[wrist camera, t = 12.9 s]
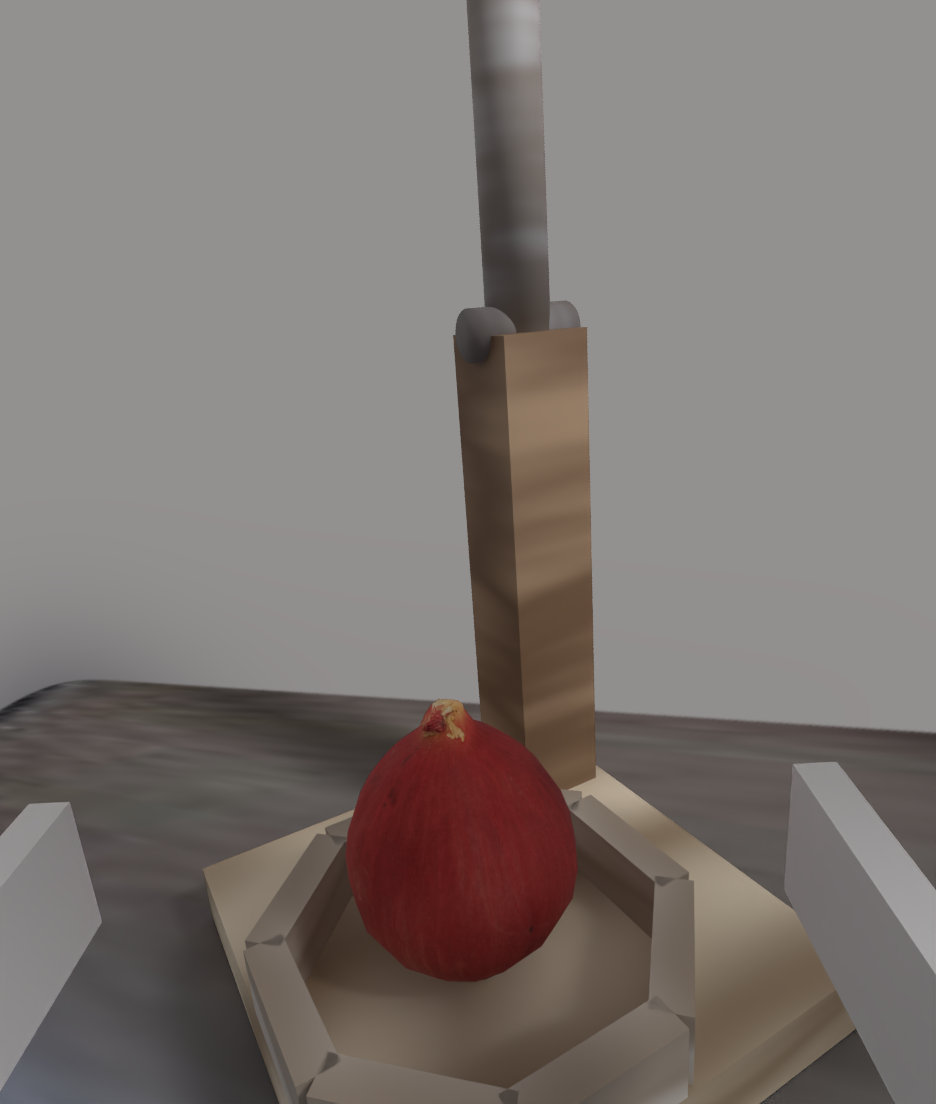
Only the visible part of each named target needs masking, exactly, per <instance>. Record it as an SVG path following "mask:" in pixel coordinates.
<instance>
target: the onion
mask: <svg viewBox="0 0 936 1104" xmlns="http://www.w3.org/2000/svg"><path fill="white" fill-rule="evenodd" d="M345 856H346V863H347V870H348V878H349V883H350V886H351V889H352V892H353V895H354V898H355V901H356V904H357V907H358V910H359V912H360V915H361V918H362V920H363V923H364V925H365V928H366V931H367V932H368V933H369V934H370V935H371V936H372V937H373V938H374V939H375V940H376V941H377V942H378V943H379V944H380V945H381V946H383V947H384V948H385V949H386V950H387V951H388V952H389V953H390V954H391V955H392V956H393V957H394V958H395V959H396V960H397V961H399V962H400V963H401V964H402V965H403V966H404V967H405V968H406V969H409V970H413V971H416V972H419V973H422V974H425V975H428V976H431V977H434V978H437V979H441V980H445V981H455V982H477V981H480V980H486V979H488V978H490V977H493V976H495V975H497V974H500V973H503V972H505V971H506V970H508V969H509V968H511V967H512V966H514V965H515V964H516V963H518V962H519V961H521V960H522V959H524V958H525V957H527V956H528V955H530V954H531V953H533V952H534V951H536V950H537V949H538V948H540V947H541V946H542V945H543V944H544V942H545V941H546V939H547V938H548V936H549V935H550V933H551V932H552V930H553V929H554V927H555V926H556V924H557V923H558V921H559V919H560V918H561V916H562V915H563V913H564V911H565V910H566V908H567V907H568V905H569V903H570V902H571V900H572V899H573V893H574V888H575V882H576V876H577V870H578V867H577V854H576V840H575V834H574V829H573V824H572V819H571V814H570V810H569V808H568V806H567V803H566V801H565V799H564V796H563V794H562V792H561V790H560V788H559V787H558V786H557V784H556V783H555V782H554V780H553V779H552V778H551V776H550V775H549V774H548V772H547V771H546V770H545V768H544V767H543V766H542V764H541V763H540V762H539V760H538V759H537V758H536V757H535V755H534V754H533V753H532V752H530V751H529V750H528V749H527V748H526V747H525V746H524V745H523V744H521V743H520V742H518V741H517V740H515V739H514V738H512V737H511V736H509V735H507V734H505V733H504V732H502V731H500V730H498V729H496V728H495V727H493V726H490V725H488V724H486V723H483V722H480V721H476V720H474V719H472V718H471V717H470V715H469V714H468V713H467V712H466V710H465V709H464V708H463V704H462V703H461V702H459V701H458V700H452V699H438V700H436V701H435V702H434V703H433V704H431V706H430V707H429V708H428V710H427V711H426V713H425V715H424V717H423V720H422V722H421V725H420V726H419V727H418V728H417V729H415V730H414V731H412V732H411V733H409V734H408V735H406V736H405V737H403V738H402V739H401V740H399V741H398V742H397V743H396V744H395V745H394V746H393V747H392V748H391V749H390V750H389V751H388V752H387V753H386V754H385V756H384V757H383V758H382V759H381V760H380V761H379V762H378V764H377V765H376V766H375V768H374V769H373V770H372V772H371V773H370V775H369V776H368V778H367V780H366V782H365V784H364V786H363V787H362V789H361V792H360V795H359V798H358V801H357V804H356V807H355V810H354V813H353V816H352V820H351V823H350V826H349V829H348V834H347V844H346V854H345Z"/></svg>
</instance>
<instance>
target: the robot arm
mask: <svg viewBox="0 0 936 1104" xmlns="http://www.w3.org/2000/svg"><path fill="white" fill-rule="evenodd" d="M784 891H785V893H786V895H787V897H788V899H789V901H790V903H791V904H792V906H793V908H794V910H795V912H796V914H797V916H798V918H799V920H800V922H801V924H802V926H803V928H804V930H805V931H806V933H807V935H808V937H809V939H810V941H811V943H812V945H813V947H814V949H815V951H816V953H817V955H818V957H819V958H820V960H821V962H822V964H823V966H824V968H825V970H826V972H827V974H828V976H829V978H830V980H831V982H832V984H833V985H834V987H835V989H836V991H837V993H838V995H839V997H840V999H841V1001H842V1003H843V1005H844V1007H845V1009H846V1010H847V1012H848V1014H849V1016H850V1018H851V1020H852V1022H853V1024H854V1026H855V1028H856V1030H857V1032H858V1034H859V1036H860V1037H861V1039H862V1041H863V1043H864V1045H865V1047H866V1049H867V1051H868V1053H869V1055H870V1057H871V1059H872V1061H873V1063H874V1064H875V1066H876V1068H877V1070H878V1072H879V1074H880V1076H881V1078H882V1080H883V1082H884V1084H885V1086H886V1088H887V1090H888V1091H889V1093H890V1095H891V1097H892V1099H893V1101H894V1103H895V1104H936V889H935V888H934V887H933V886H932V884H931V883H930V882H929V880H928V879H927V878H926V877H925V875H924V874H923V873H922V871H921V870H920V869H919V868H918V866H917V865H916V864H915V862H914V861H913V860H912V859H911V857H910V856H909V855H908V853H907V852H906V851H905V849H904V848H903V847H902V846H901V844H900V843H899V842H898V840H897V839H896V838H895V837H894V835H893V834H892V833H891V831H890V830H889V829H888V828H887V826H886V825H885V824H884V822H883V821H882V820H881V819H880V817H879V816H878V815H877V813H876V812H875V811H874V809H873V808H872V807H871V806H870V804H869V803H868V802H867V800H866V799H865V798H864V797H863V795H862V794H861V793H860V791H859V790H858V789H857V788H856V786H855V785H854V784H853V782H852V781H851V780H850V779H849V777H848V776H847V775H846V773H845V772H844V771H843V770H842V768H841V767H840V766H839V764H838V763H837V762H822V763H803V764H793V770H792V784H791V798H790V812H789V826H788V840H787V854H786V868H785V882H784ZM101 923H102V920H101V916H100V913H99V909H98V905H97V901H96V898H95V894H94V890H93V887H92V883H91V879H90V875H89V872H88V868H87V864H86V860H85V857H84V853H83V849H82V846H81V842H80V838H79V834H78V831H77V827H76V823H75V819H74V816H73V812H72V808H71V805H70V802H56V803H37V804H28V805H27V807H26V808H25V809H24V810H23V811H22V812H21V813H20V814H19V816H18V817H17V818H16V819H15V820H14V821H13V822H12V824H11V825H10V826H9V827H8V828H7V829H6V830H5V831H4V833H3V834H2V835H1V836H0V1091H1V1090H2V1088H3V1086H4V1085H5V1083H6V1081H7V1080H8V1078H9V1076H10V1075H11V1073H12V1071H13V1070H14V1068H15V1066H16V1065H17V1063H18V1061H19V1060H20V1058H21V1056H22V1055H23V1053H24V1051H25V1050H26V1048H27V1046H28V1045H29V1043H30V1041H31V1040H32V1038H33V1036H34V1035H35V1033H36V1031H37V1030H38V1028H39V1026H40V1025H41V1023H42V1021H43V1020H44V1018H45V1016H46V1015H47V1013H48V1011H49V1010H50V1008H51V1006H52V1005H53V1003H54V1001H55V1000H56V998H57V996H58V995H59V993H60V991H61V990H62V988H63V986H64V985H65V983H66V981H67V980H68V978H69V976H70V975H71V973H72V971H73V970H74V968H75V966H76V965H77V963H78V961H79V960H80V958H81V956H82V955H83V953H84V951H85V950H86V948H87V946H88V945H89V943H90V941H91V940H92V938H93V936H94V935H95V933H96V931H97V930H98V928H99V926H100V925H101Z"/></svg>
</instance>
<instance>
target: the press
mask: <svg viewBox="0 0 936 1104" xmlns="http://www.w3.org/2000/svg"><path fill="white" fill-rule="evenodd" d="M467 14H468V31H469V48H470V64H471V80H472V98H473V114H474V132H475V148H476V164H477V165H476V166H477V183H478V199H479V215H480V232H481V249H482V267H483V282H484V300H485V307H481V308H468V309H464V310H463V311H462V312H461V313H460V314H459V316H458V319H457V323H456V335H453V338H454V352H455V365H456V379H457V393H458V405H459V406H458V407H459V420H460V435H461V448H462V462H463V475H464V490H465V502H466V517H467V530H468V545H469V558H470V571H471V572H470V573H471V585H472V600H473V614H474V627H475V642H476V655H477V669H478V683H479V695H480V696H479V697H480V711H481V722H483V723H486V724H488V725H490V726H493V727H495V728H496V729H498V730H500V731H502V732H504V733H505V734H507V735H509V736H511V737H512V738H514V739H515V740H517V741H518V742H520V743H521V744H523V745H524V746H525V747H526V748H527V749H528V750H529V751H530V752H532V753H533V754H534V755H535V757H536V758H537V759H538V760H539V762H540V763H541V764H542V766H543V767H544V768H545V770H546V771H547V772H548V774H549V775H550V776H551V778H552V779H553V780H554V782H555V783H556V784H557V786H558V787H559V788H560V790H561V792H562V794H563V796H564V799H565V801H566V803H567V806H568V808H569V810H570V814H571V819H572V824H573V829H574V834H575V840H576V854H577V867H578V870H577V876H576V882H575V888H574V893H573V899H572V900H571V902H570V903H569V905H568V907H567V908H566V910H565V911H564V913H563V915H562V916H561V918H560V919H559V921H558V923H557V924H556V926H555V927H554V929H553V930H552V932H551V933H550V935H549V936H548V938H547V939H546V941H545V942H544V944H543V945H542V946H541V947H540V948H538V949H537V950H536V951H534V952H533V953H531V954H530V955H528V956H527V957H525V958H524V959H522V960H521V961H519V962H518V963H516V964H515V965H514V966H512V967H511V968H509V969H508V970H506V971H505V972H503V973H500V974H497V975H495V976H493V977H490V978H488V979H486V980H480V981H477V982H455V981H445V980H441V979H437V978H434V977H431V976H428V975H425V974H422V973H419V972H416V971H413V970H409V969H406V968H405V967H404V966H403V965H402V964H401V963H400V962H399V961H397V960H396V959H395V958H394V957H393V956H392V955H391V954H390V953H389V952H388V951H387V950H386V949H385V948H384V947H383V946H381V945H380V944H379V943H378V942H377V941H376V940H375V939H374V938H373V937H372V936H371V935H370V934H369V933H368V932H367V931H366V928H365V925H364V923H363V920H362V918H361V915H360V912H359V910H358V907H357V904H356V901H355V898H354V895H353V892H352V889H351V886H350V883H349V878H348V870H347V863H346V856H345V854H346V844H347V834H348V829H349V826H350V823H351V820H352V816H353V813H354V810H355V809H354V810H351V811H349V812H346V813H344V814H341V815H338V816H336V817H333V818H331V819H328V820H326V821H323V822H321V823H318V824H315V825H313V826H310V827H308V828H305V829H303V830H300V831H298V832H295V833H292V834H290V835H287V836H285V837H282V838H280V839H277V840H275V841H272V842H269V843H267V844H264V845H262V846H259V847H257V848H254V849H251V850H249V851H246V852H244V853H241V854H239V855H236V856H234V857H231V858H228V859H226V860H223V861H221V862H218V863H216V864H213V865H211V866H208V867H205V868H203V874H204V878H205V883H206V888H207V892H208V897H209V902H210V906H211V911H212V916H213V919H214V922H215V925H216V928H217V931H218V933H219V936H220V939H221V942H222V945H223V947H224V950H225V953H226V956H227V959H228V961H229V964H230V967H231V970H232V973H233V976H234V978H235V981H236V984H237V987H238V990H239V992H240V995H241V998H242V1001H243V1004H244V1006H245V1009H246V1012H247V1015H248V1018H249V1020H250V1023H251V1026H252V1029H253V1032H254V1035H255V1037H256V1040H257V1043H258V1046H259V1049H260V1051H261V1054H262V1057H263V1060H264V1063H265V1065H266V1068H267V1071H268V1074H269V1077H270V1079H271V1082H272V1085H273V1088H274V1091H275V1094H276V1096H277V1099H278V1102H279V1104H760V1103H761V1102H762V1101H764V1100H765V1099H766V1098H768V1097H769V1096H770V1095H771V1094H773V1093H774V1092H775V1091H777V1090H778V1089H779V1088H780V1087H782V1086H783V1085H784V1084H786V1083H787V1082H788V1081H789V1080H791V1079H792V1078H793V1077H795V1076H796V1075H797V1074H798V1073H800V1072H801V1071H802V1070H804V1069H805V1068H806V1067H808V1066H809V1065H810V1064H811V1063H813V1062H814V1061H815V1060H817V1059H818V1058H819V1057H820V1056H822V1055H823V1054H824V1053H826V1052H827V1051H828V1050H829V1049H831V1048H832V1047H833V1046H835V1045H836V1044H837V1043H838V1042H840V1041H841V1040H842V1039H844V1038H845V1037H846V1036H847V1035H849V1034H850V1033H851V1032H853V1031H854V1030H855V1029H856V1028H855V1026H854V1024H853V1022H852V1020H851V1018H850V1016H849V1014H848V1012H847V1010H846V1009H845V1007H844V1005H843V1003H842V1001H841V999H840V997H839V995H838V993H837V991H836V989H835V987H834V985H833V984H832V982H831V980H830V978H829V976H828V974H827V972H826V970H825V968H824V966H823V964H822V962H821V960H820V958H819V957H818V955H817V953H816V951H815V949H814V947H813V945H812V943H811V941H810V939H809V937H808V935H807V933H806V931H805V930H804V928H803V926H802V924H801V922H800V920H799V918H798V916H797V914H796V912H795V911H794V910H793V909H792V908H790V907H789V906H788V905H786V904H785V903H784V902H782V901H781V900H779V899H778V898H777V897H775V896H774V895H773V894H771V893H770V892H769V891H767V890H766V889H764V888H763V887H762V886H760V885H759V884H758V883H756V882H755V881H753V880H752V879H751V878H749V877H748V876H747V875H745V874H744V873H743V872H741V871H740V870H738V869H737V868H736V867H734V866H733V865H732V864H730V863H729V862H728V861H726V860H725V859H723V858H722V857H721V856H719V855H718V854H717V853H715V852H714V851H713V850H711V849H710V848H708V847H707V846H706V845H704V844H703V843H702V842H700V841H699V840H698V839H696V838H695V837H693V836H692V835H691V834H689V833H688V832H687V831H685V830H684V829H683V828H681V827H680V826H678V825H677V824H676V823H674V822H673V821H672V820H670V819H669V818H668V817H666V816H665V815H663V814H662V813H661V812H659V811H658V810H657V809H655V808H654V807H653V806H651V805H650V804H648V803H647V802H646V801H644V800H643V799H642V798H640V797H639V796H638V795H636V794H635V793H633V792H632V791H631V790H629V789H628V788H627V787H625V786H624V785H623V784H621V783H620V782H618V781H617V780H616V779H614V778H613V777H612V776H610V775H609V774H608V773H606V772H605V771H603V770H602V769H601V768H599V767H598V766H597V765H596V752H595V705H594V661H593V660H594V655H593V608H592V607H593V606H592V559H591V512H590V511H591V510H590V463H589V462H590V461H589V415H588V413H589V412H588V364H587V327H580V319H579V315H578V312H577V310H576V308H575V307H574V306H573V305H572V304H571V303H570V302H568V301H555V302H550V297H549V267H548V241H547V240H548V238H547V210H546V180H545V153H544V152H545V151H544V124H543V123H544V122H543V94H542V65H541V36H540V7H539V0H467Z"/></svg>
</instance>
